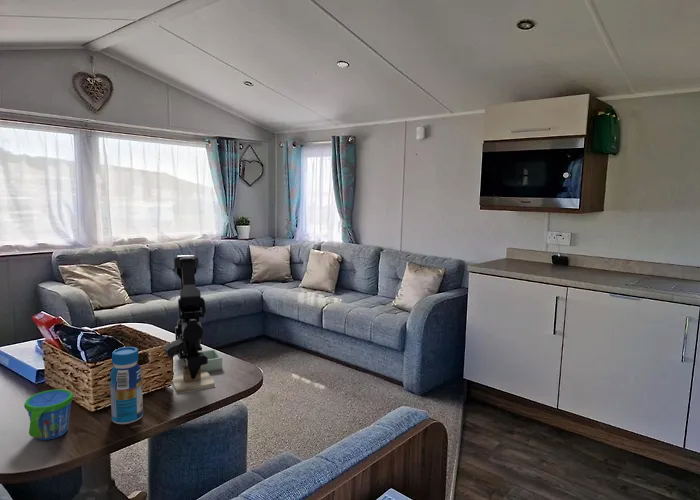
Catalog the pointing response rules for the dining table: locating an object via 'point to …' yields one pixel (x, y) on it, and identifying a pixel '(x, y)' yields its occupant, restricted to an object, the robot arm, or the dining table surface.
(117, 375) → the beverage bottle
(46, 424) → the snack cup
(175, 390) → the mat
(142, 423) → the dining table surface
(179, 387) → the lid
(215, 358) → the dish
